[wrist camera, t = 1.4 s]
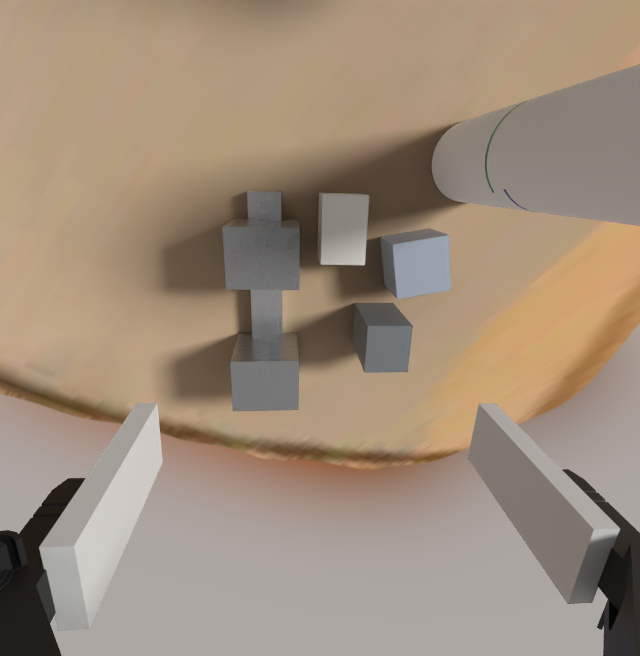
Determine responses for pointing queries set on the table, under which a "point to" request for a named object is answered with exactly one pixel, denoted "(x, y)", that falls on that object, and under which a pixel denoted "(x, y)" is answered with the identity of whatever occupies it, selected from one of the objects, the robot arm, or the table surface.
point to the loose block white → (342, 228)
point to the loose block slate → (416, 263)
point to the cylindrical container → (552, 153)
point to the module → (381, 337)
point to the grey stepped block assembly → (264, 304)
